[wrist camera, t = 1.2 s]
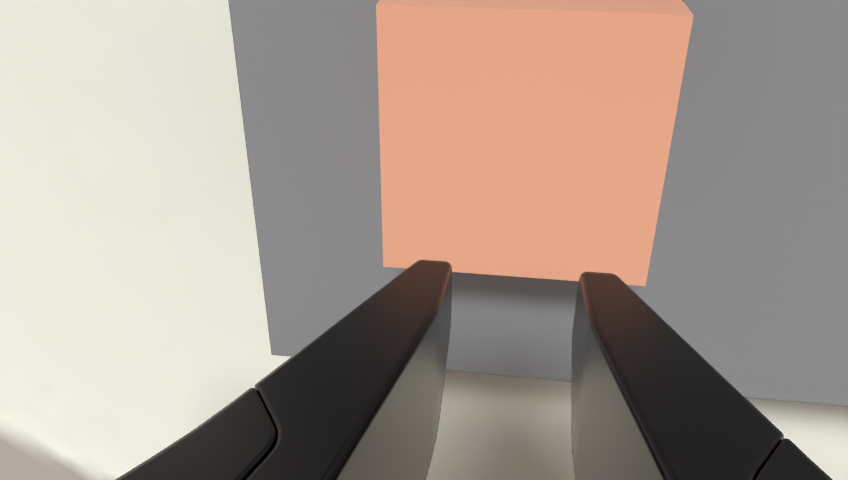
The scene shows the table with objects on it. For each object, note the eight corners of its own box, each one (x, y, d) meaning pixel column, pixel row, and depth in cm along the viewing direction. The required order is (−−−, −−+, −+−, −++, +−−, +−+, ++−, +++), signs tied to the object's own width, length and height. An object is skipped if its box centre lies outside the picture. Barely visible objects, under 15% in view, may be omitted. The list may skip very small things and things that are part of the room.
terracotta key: (658, -31, 15) (694, 15, 12) (624, 193, 18) (645, 286, 14) (412, -37, 16) (375, 4, 12) (413, 180, 18) (383, 266, 15)
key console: (1462, -287, 15) (1950, -340, 10) (1132, 298, 22) (1316, 448, 17) (292, -275, 18) (190, -312, 13) (328, 241, 25) (271, 354, 19)
